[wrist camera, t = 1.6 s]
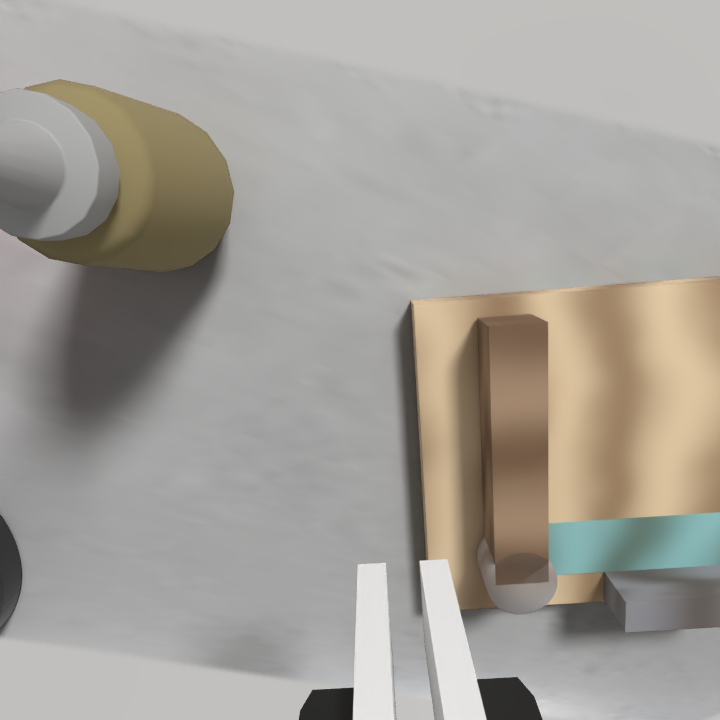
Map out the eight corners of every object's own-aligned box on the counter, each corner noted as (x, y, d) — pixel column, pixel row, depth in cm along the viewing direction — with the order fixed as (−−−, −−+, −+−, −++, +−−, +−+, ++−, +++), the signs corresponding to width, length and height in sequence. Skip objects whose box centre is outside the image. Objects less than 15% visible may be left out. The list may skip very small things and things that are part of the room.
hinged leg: (541, 579, 34) (557, 612, 31) (477, 583, 34) (487, 616, 31) (539, 313, 30) (558, 321, 27) (468, 318, 30) (478, 327, 27)
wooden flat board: (428, 591, 37) (437, 646, 32) (410, 300, 32) (418, 311, 27) (756, 571, 36) (817, 624, 31) (785, 271, 32) (861, 277, 27)
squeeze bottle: (272, 235, 32) (152, 234, 14) (151, 289, 32) (-105, 352, 15) (211, 98, 30) (-12, -96, 12) (85, 158, 31) (-291, 56, 13)
